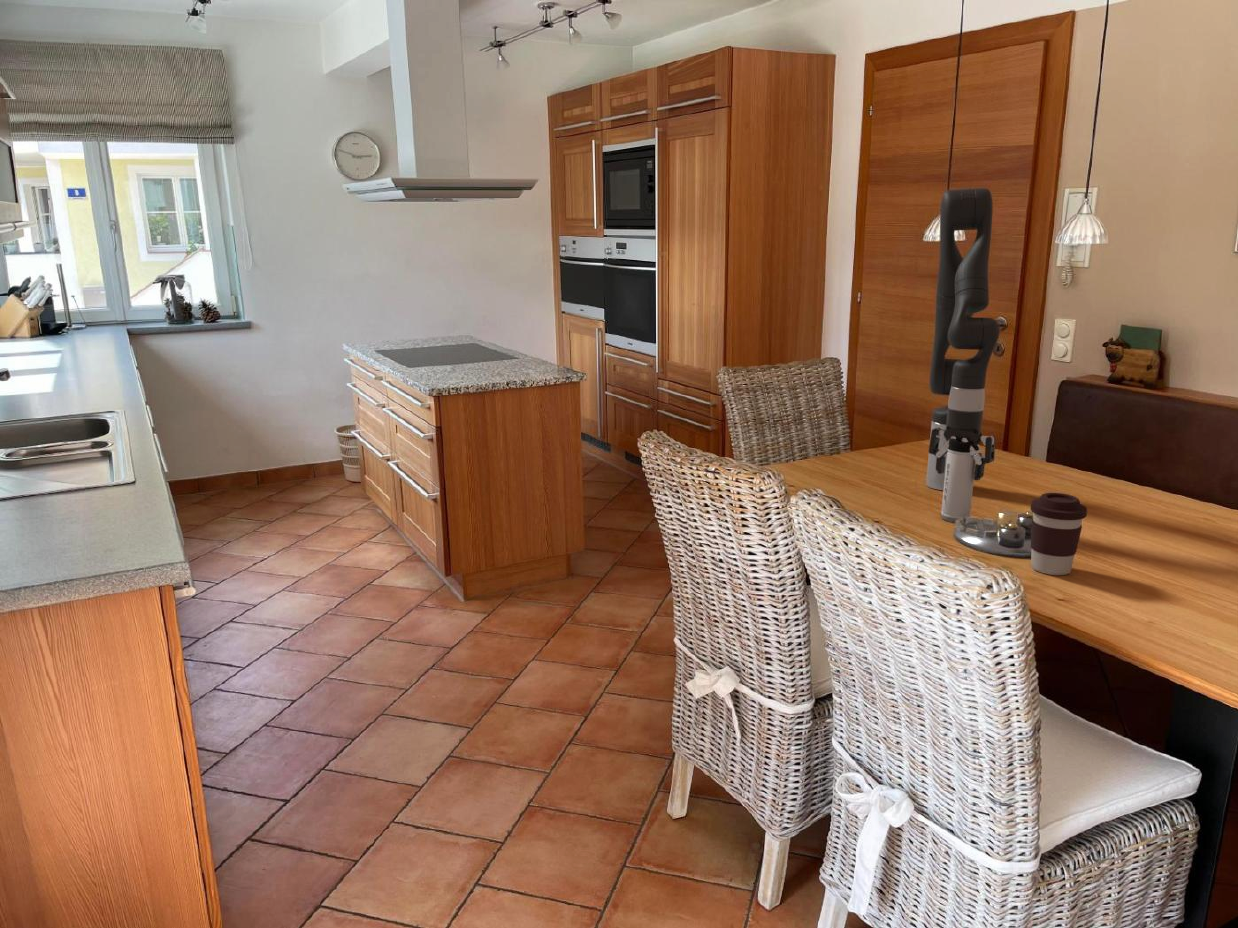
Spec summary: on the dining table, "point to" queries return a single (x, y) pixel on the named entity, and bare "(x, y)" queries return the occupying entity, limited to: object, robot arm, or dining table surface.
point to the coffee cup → (1055, 532)
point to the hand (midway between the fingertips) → (958, 476)
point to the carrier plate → (990, 541)
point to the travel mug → (958, 481)
